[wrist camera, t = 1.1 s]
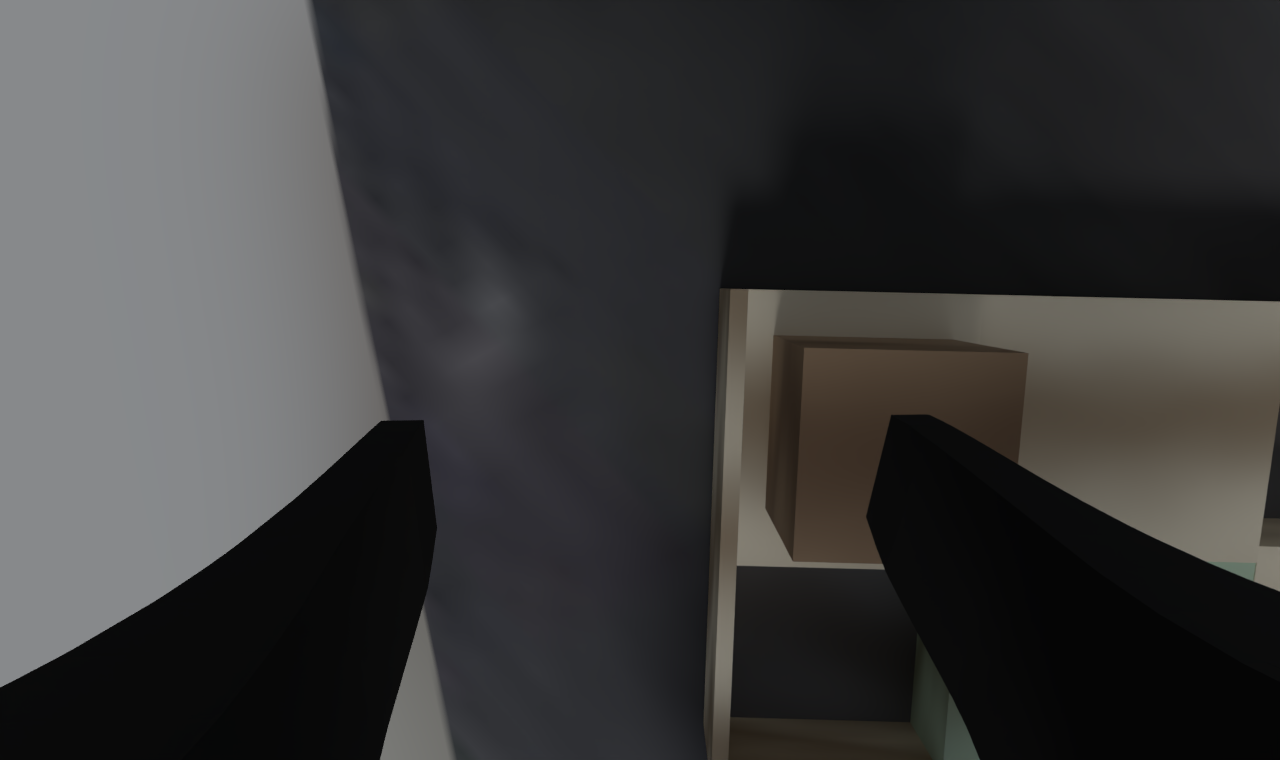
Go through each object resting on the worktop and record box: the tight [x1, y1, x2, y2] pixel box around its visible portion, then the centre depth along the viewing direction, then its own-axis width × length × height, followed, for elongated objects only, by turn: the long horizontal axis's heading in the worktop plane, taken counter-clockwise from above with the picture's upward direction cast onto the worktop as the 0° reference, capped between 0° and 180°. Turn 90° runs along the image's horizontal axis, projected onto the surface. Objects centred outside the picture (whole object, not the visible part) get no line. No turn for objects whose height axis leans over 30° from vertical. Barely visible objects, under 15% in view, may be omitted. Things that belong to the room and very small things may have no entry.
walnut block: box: [765, 335, 1029, 564], centre depth 18 cm, size 5×5×4 cm
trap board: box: [703, 288, 1280, 760], centre depth 22 cm, size 15×22×3 cm, turn 89°
